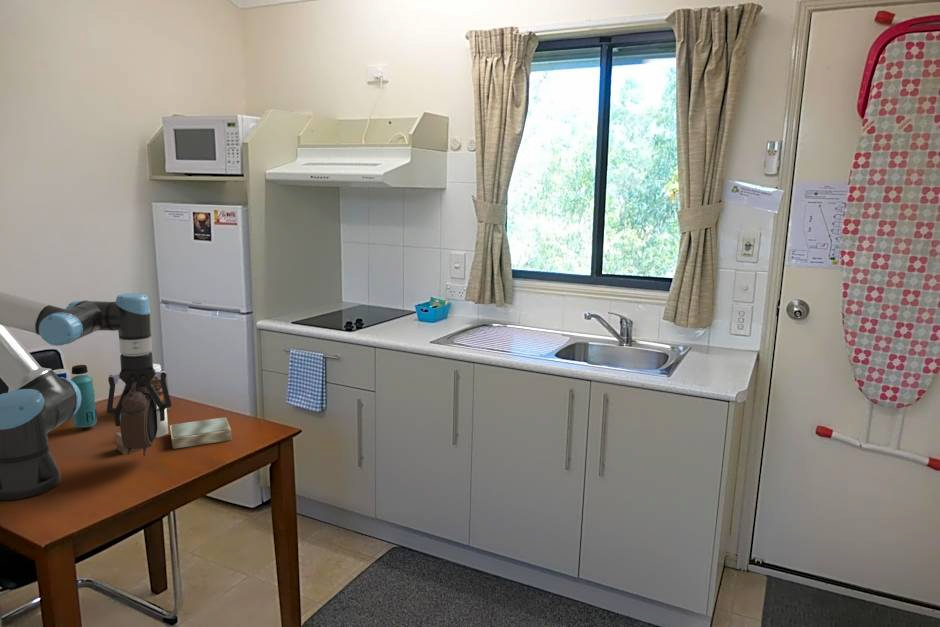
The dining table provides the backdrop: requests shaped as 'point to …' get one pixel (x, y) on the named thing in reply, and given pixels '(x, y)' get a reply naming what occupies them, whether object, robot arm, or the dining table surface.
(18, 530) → the dining table surface
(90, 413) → the beverage bottle
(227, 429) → the picture frame
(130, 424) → the alarm clock
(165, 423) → the dome-top cylinder
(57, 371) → the beverage can
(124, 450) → the walnut block
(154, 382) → the jar
